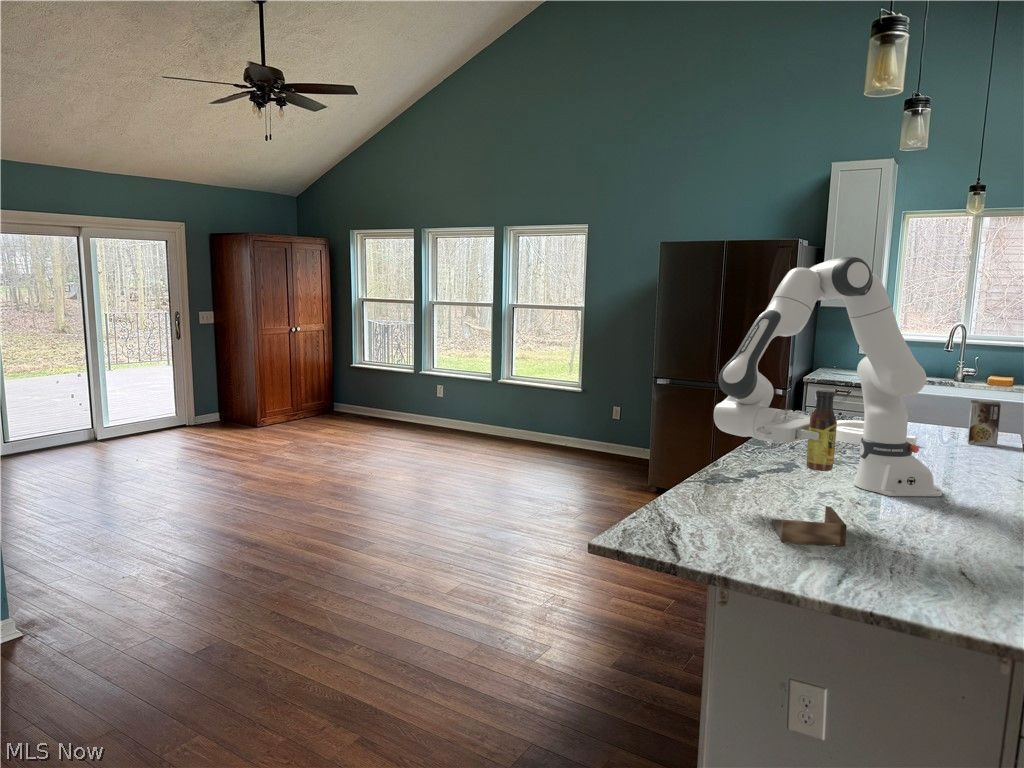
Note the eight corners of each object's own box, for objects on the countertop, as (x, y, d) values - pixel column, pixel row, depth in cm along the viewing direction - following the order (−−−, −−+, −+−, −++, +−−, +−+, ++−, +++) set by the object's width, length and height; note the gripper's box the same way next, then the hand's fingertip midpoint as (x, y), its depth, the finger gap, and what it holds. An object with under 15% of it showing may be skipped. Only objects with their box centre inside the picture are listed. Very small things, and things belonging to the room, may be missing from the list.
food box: (995, 443, 252) (1000, 401, 250) (997, 447, 247) (1001, 404, 245) (966, 440, 257) (971, 399, 255) (967, 444, 252) (971, 401, 250)
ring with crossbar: (920, 448, 247) (921, 435, 246) (844, 447, 247) (845, 434, 247) (879, 431, 275) (880, 420, 274) (811, 431, 275) (812, 420, 274)
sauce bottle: (831, 473, 164) (838, 393, 161) (804, 469, 167) (810, 391, 164) (834, 467, 169) (840, 390, 166) (807, 464, 172) (813, 387, 170)
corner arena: (829, 526, 165) (830, 506, 164) (845, 546, 152) (846, 525, 151) (771, 522, 167) (772, 502, 167) (781, 542, 154) (782, 521, 153)
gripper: (753, 418, 169) (808, 427, 159) (790, 408, 182) (843, 416, 172) (752, 442, 170) (806, 453, 160) (788, 431, 183) (841, 440, 173)
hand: (825, 434), depth 166 cm, fingers closed on sauce bottle, 6 cm apart
